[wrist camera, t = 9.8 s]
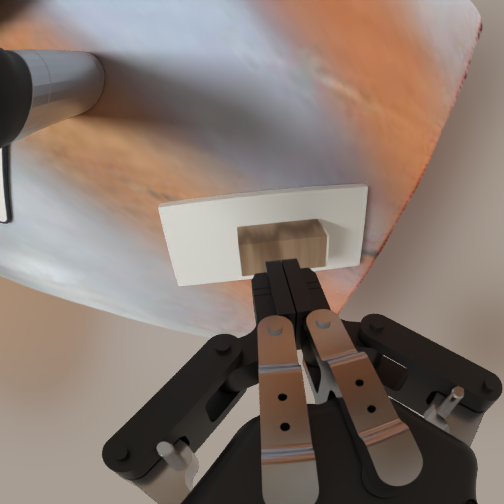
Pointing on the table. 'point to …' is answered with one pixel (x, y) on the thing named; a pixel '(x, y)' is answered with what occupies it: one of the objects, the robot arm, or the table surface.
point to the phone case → (4, 188)
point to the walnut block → (282, 244)
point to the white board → (255, 213)
